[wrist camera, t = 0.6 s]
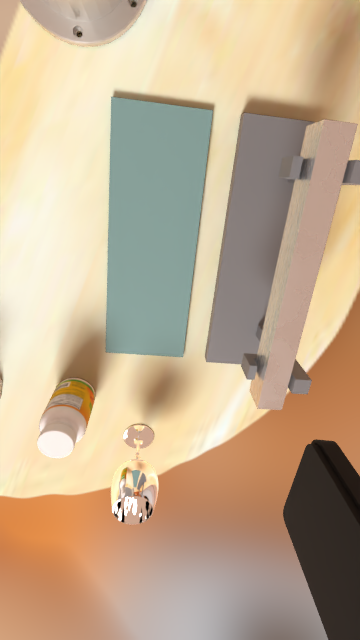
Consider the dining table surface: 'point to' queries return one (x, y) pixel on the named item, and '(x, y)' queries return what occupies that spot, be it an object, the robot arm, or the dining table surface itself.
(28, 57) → the dining table surface
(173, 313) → the teal mat
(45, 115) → the dining table surface
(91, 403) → the supplement bottle
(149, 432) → the wineglass
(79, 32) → the robot arm
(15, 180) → the dining table surface
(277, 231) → the rail stand
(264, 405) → the steel rail
